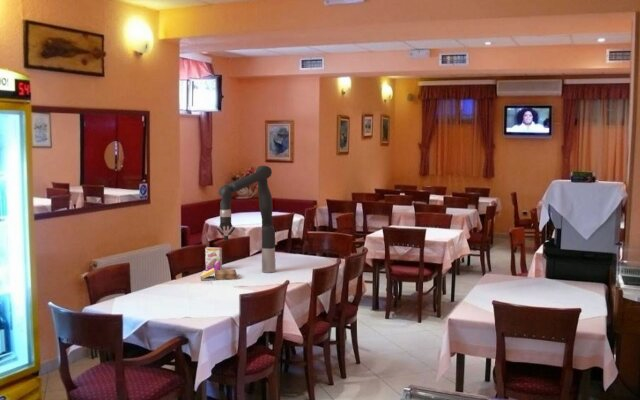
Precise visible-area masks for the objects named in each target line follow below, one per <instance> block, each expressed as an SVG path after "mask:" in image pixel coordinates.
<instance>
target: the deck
mask: <svg viewBox="0 0 640 400" xmlns="http://www.w3.org/2000/svg"><path fill="white" fill-rule="evenodd" d="M237 275H238V274H237V271H236V269H222V270H215V273H214V278H215V280H214V281H227V280H230V281H231V280H237V277H238V276H237Z"/></svg>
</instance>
